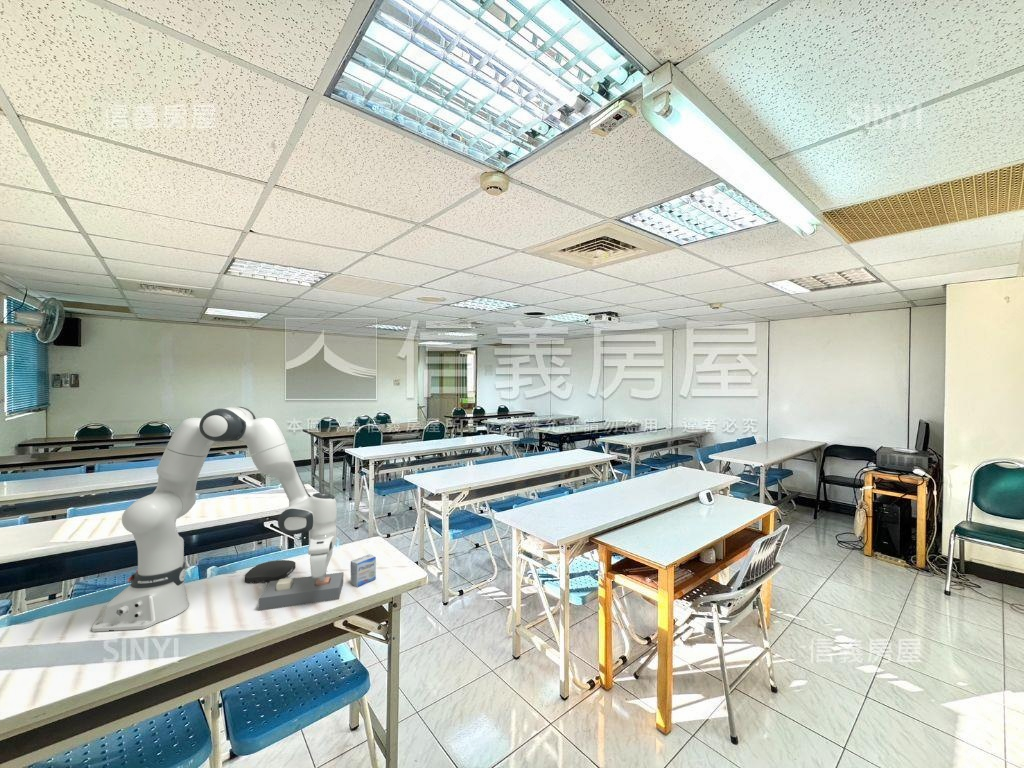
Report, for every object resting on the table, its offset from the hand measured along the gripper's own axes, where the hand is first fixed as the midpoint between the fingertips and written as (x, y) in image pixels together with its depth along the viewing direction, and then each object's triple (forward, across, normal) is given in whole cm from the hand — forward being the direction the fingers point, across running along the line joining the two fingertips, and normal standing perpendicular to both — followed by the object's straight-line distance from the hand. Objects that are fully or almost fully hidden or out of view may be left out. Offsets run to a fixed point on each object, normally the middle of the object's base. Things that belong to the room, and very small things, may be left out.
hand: (322, 579), depth 138 cm
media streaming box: (+6, -22, -22) cm, 32 cm away
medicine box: (+5, -5, +13) cm, 15 cm away
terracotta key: (+3, 0, 0) cm, 3 cm away
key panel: (+5, 0, -6) cm, 8 cm away
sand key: (+2, 0, -12) cm, 12 cm away
